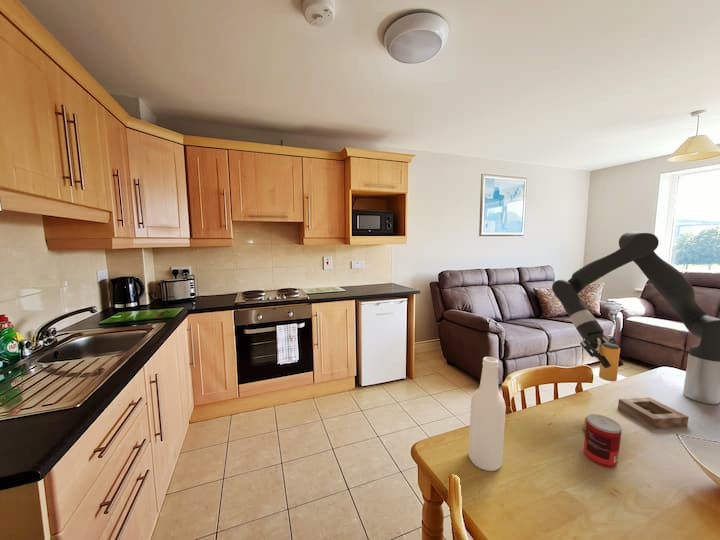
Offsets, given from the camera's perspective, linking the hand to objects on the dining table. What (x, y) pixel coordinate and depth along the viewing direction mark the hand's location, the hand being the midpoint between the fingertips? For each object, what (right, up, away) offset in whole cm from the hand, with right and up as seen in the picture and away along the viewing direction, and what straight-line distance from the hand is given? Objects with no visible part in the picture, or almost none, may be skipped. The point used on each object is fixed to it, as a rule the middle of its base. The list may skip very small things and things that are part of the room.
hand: (614, 366), depth 104 cm
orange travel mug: (0, -5, +2) cm, 6 cm away
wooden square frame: (+12, -18, -1) cm, 21 cm away
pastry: (-14, -19, -9) cm, 25 cm away
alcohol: (-56, -20, -22) cm, 63 cm away
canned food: (-22, -20, -21) cm, 36 cm away
